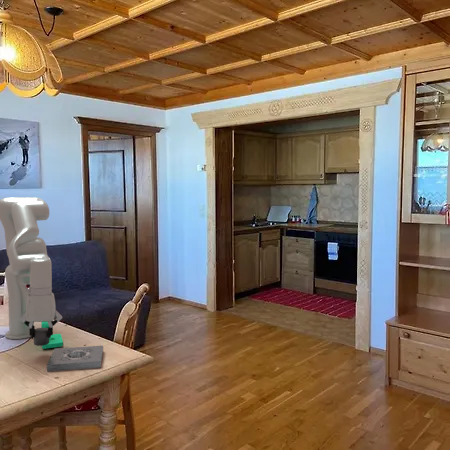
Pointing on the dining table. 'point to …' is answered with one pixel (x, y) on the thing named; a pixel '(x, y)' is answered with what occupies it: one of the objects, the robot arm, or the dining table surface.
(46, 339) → the dark gray cylinder
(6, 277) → the robot arm
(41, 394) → the dining table surface
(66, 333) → the dining table surface
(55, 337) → the camera mount
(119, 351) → the dining table surface
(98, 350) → the mount plate
